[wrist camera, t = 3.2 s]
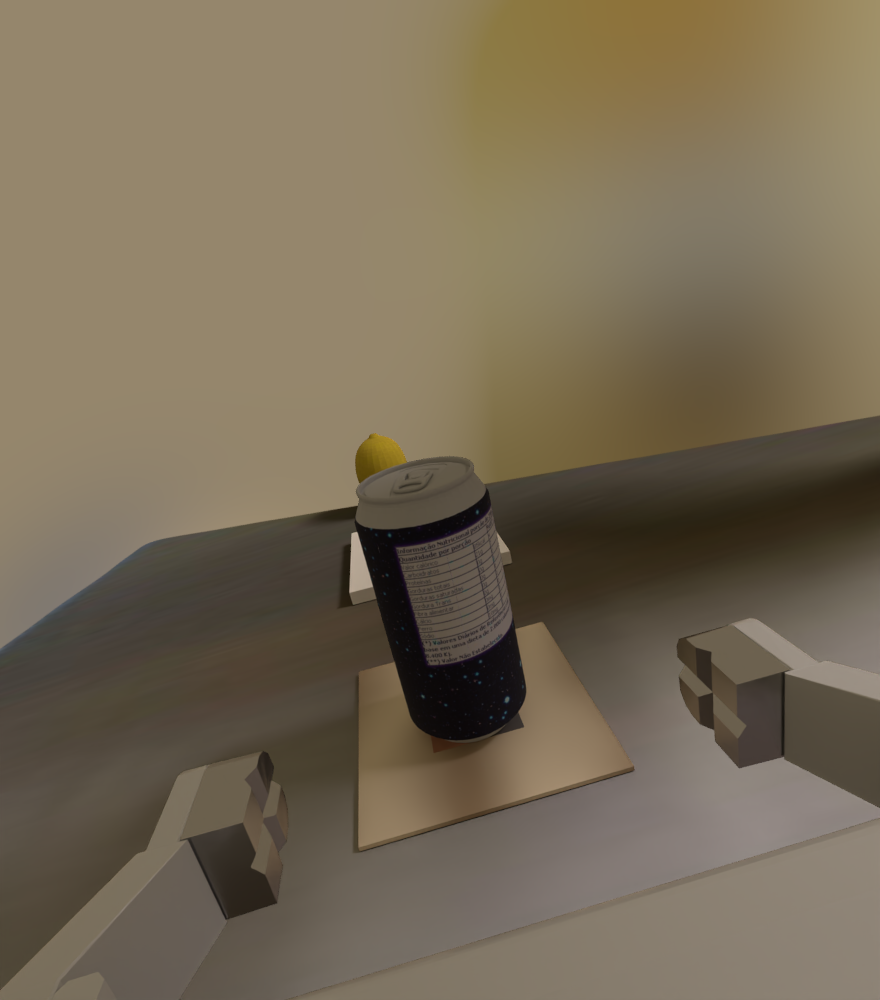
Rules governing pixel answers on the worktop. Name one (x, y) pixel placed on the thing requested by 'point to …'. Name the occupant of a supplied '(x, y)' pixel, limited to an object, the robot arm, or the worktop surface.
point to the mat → (361, 579)
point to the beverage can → (442, 596)
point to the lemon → (377, 456)
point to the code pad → (478, 750)
